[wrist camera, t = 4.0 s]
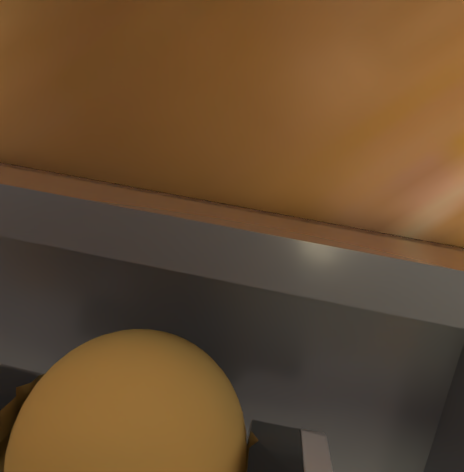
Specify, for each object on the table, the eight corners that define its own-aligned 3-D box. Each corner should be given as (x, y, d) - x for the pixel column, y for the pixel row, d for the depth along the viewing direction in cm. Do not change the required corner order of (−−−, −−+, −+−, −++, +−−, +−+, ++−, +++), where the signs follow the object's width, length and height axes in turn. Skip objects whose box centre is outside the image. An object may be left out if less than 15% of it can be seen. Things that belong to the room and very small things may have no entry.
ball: (87, 282, 10) (-67, 385, 5) (268, 317, 9) (259, 459, 5) (75, 438, 11) (-65, 632, 6) (238, 475, 10) (208, 709, 6)
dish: (-95, 145, 11) (-235, 139, 8) (521, 258, 9) (629, 302, 7) (-96, 461, 13) (-207, 551, 10) (412, 589, 11) (457, 735, 9)
